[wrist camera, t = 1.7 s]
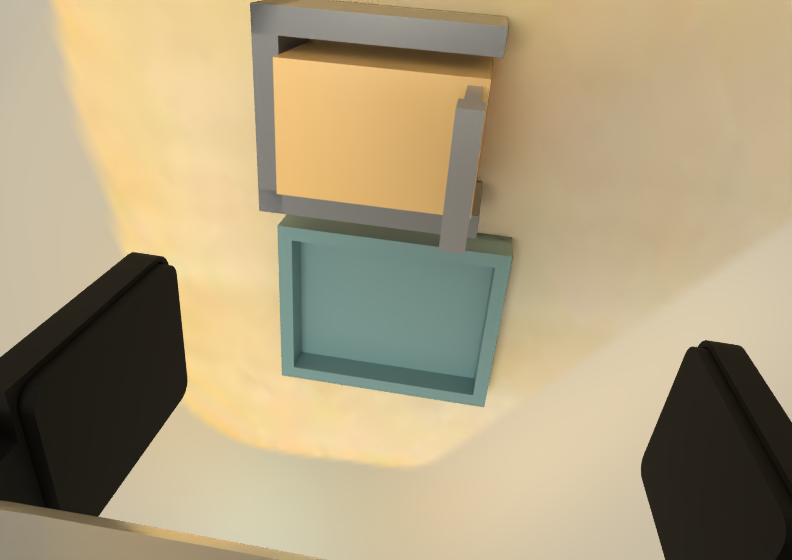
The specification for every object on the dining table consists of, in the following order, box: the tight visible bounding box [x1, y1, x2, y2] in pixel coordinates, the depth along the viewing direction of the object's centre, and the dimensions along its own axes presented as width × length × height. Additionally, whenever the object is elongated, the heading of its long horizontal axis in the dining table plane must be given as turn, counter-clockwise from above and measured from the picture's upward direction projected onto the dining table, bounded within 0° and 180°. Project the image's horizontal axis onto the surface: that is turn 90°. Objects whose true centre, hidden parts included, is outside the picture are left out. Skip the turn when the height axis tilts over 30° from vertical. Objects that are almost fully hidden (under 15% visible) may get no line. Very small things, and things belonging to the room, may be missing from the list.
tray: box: [278, 214, 513, 407], centre depth 36 cm, size 13×11×2 cm
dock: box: [250, 0, 508, 239], centre depth 29 cm, size 11×10×5 cm
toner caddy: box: [273, 39, 493, 254], centre depth 26 cm, size 9×6×11 cm, turn 86°
